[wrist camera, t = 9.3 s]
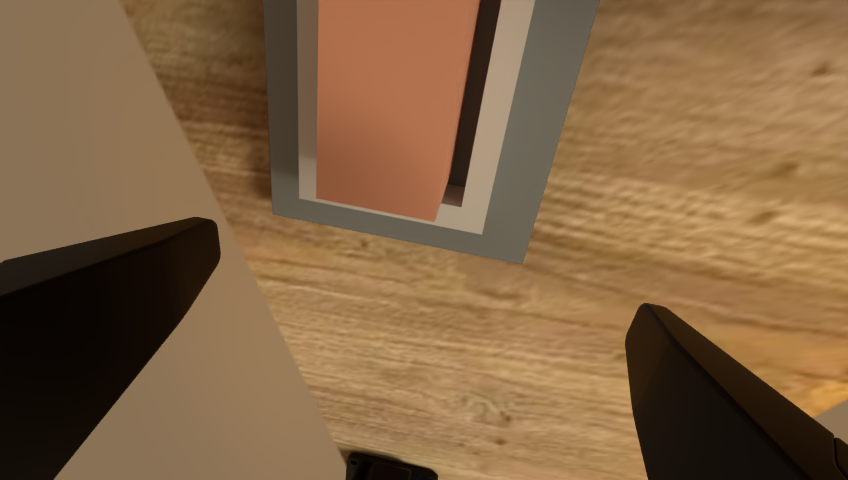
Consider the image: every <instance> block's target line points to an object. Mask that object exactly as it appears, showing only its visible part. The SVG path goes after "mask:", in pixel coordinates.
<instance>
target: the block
mask: <svg viewBox="0 0 848 480" xmlns="http://www.w3.org/2000/svg"><path fill="white" fill-rule="evenodd" d="M481 3H482V0H319V10H318V88H317V166H316V199H321V200H326V201H331V202H336V203H341V204H346V205H351V206H356V207H361V208H366V209H371V210H376V211H381V212H386V213H391V214H396V215H401V216H406V217H411V218H416V219H421V220H426V221H431V222H435V220H436V217H437V213H438V210H439V207H440V204H441V201H442V198H443V195H444V192H445V189H446V186H447V183H448V180H449V177H450V173H451V170H452V166H453V161H454V155H455V149H456V144H457V138H458V132H459V127H460V121H461V115H462V110H463V104H464V99H465V93H466V87H467V82H468V76H469V70H470V65H471V59H472V53H473V48H474V42H475V36H476V31H477V25H478V20H479V14H480V8H481Z"/></svg>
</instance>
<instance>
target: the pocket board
mask: <svg viewBox="0 0 848 480" xmlns="http://www.w3.org/2000/svg"><path fill="white" fill-rule="evenodd" d="M599 1H600V0H482V3H481V8H480V14H479V20H478V25H477V31H476V36H475V42H474V48H473V53H472V59H471V65H470V70H469V76H468V82H467V87H466V93H465V99H464V104H463V110H462V115H461V121H460V127H459V132H458V138H457V144H456V149H455V155H454V161H453V166H452V170H451V173H450V177H449V180H448V183H447V186H446V189H445V192H444V195H443V198H442V201H441V204H440V207H439V210H438V213H437V217H436V220H435V222H431V221H426V220H421V219H416V218H411V217H406V216H401V215H396V214H391V213H386V212H381V211H376V210H371V209H366V208H361V207H356V206H351V205H346V204H341V203H336V202H331V201H326V200H321V199H316V166H317V88H318V10H319V0H263V16H264V38H265V59H266V81H267V102H268V123H269V145H270V166H271V188H272V209H273V214H274V215H278V216H283V217H288V218H293V219H298V220H303V221H308V222H313V223H318V224H323V225H328V226H333V227H338V228H343V229H348V230H353V231H358V232H363V233H368V234H373V235H378V236H383V237H388V238H393V239H398V240H403V241H408V242H413V243H418V244H423V245H428V246H433V247H438V248H442V249H447V250H452V251H457V252H462V253H467V254H472V255H477V256H482V257H487V258H492V259H497V260H502V261H507V262H512V263H517V264H522V265H523V261H524V258H525V254H526V251H527V247H528V244H529V241H530V237H531V234H532V230H533V227H534V224H535V220H536V217H537V213H538V210H539V206H540V203H541V200H542V196H543V193H544V189H545V186H546V182H547V179H548V176H549V172H550V169H551V165H552V162H553V159H554V155H555V152H556V148H557V145H558V141H559V138H560V135H561V131H562V128H563V124H564V121H565V117H566V114H567V111H568V107H569V104H570V100H571V97H572V94H573V90H574V87H575V83H576V80H577V76H578V73H579V70H580V66H581V63H582V59H583V56H584V53H585V49H586V46H587V42H588V39H589V35H590V32H591V29H592V25H593V22H594V18H595V15H596V11H597V8H598V5H599Z"/></svg>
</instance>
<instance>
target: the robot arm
mask: <svg viewBox="0 0 848 480" xmlns="http://www.w3.org/2000/svg"><path fill="white" fill-rule="evenodd" d="M219 244H220V243H219V236H218V228H217V224H216V223H215V222H214V221H213V220H210V219H206V218H200V217H192V218H188V219H184V220H179V221H174V222H170V223H166V224H162V225H157V226H153V227H149V228H144V229H140V230H135V231H131V232H127V233H122V234H118V235H114V236H109V237H105V238H100V239H96V240H92V241H87V242H83V243H79V244H74V245H70V246H66V247H61V248H56V249H52V250H48V251H43V252H39V253H35V254H30V255H26V256H22V257H17V258H13V259H8V260H5V261H3V262H2V263H0V480H54V478H55V477H56V476H57V475H58V474H59V472H60V471H61V469H63V467H64V466H65V465H66V463H67V462H68V461H69V460H70V459H71V457H72V456H73V455H74V453H75V452H76V451H77V450H78V449H79V447H80V446H81V445H82V444H83V442H84V441H85V440H86V439H87V437H88V436H89V435H90V434H91V432H92V431H93V430H94V429H95V427H96V426H97V425H98V424H99V422H100V421H101V420H102V419H103V418H104V416H105V415H106V414H107V412H108V411H109V410H110V409H111V408H112V406H113V405H114V404H115V403H116V401H117V400H118V399H119V398H120V396H121V395H122V394H123V393H124V391H125V390H126V389H127V388H128V386H129V385H130V384H131V382H132V381H133V380H134V379H135V378H136V376H137V375H138V374H139V373H140V371H141V370H142V369H143V368H144V367H145V365H146V364H147V363H148V361H149V360H150V359H151V358H152V356H153V355H154V354H155V353H156V352H157V350H158V349H159V348H160V347H161V345H162V344H163V343H164V342H165V340H166V339H167V338H168V337H169V335H170V334H171V333H172V331H173V330H174V329H175V328H176V327H177V325H178V324H179V323H180V321H181V320H182V319H183V317H184V316H185V315H186V313H187V312H188V310H189V309H190V307H191V305H192V304H193V303H194V301H195V299H196V298H197V296H198V295H199V293H200V292H201V290H202V288H203V287H204V285H205V284H206V282H207V280H208V279H209V277H210V276H211V274H212V273H213V271H214V270H215V268H216V267H217V265H218V263H219V260H220V254H221V252H220V245H219ZM625 349H626V358H627V367H628V376H629V386H630V395H631V403H632V411H633V416H634V421H635V426H636V430H637V434H638V438H639V443H640V447H641V451H642V456H643V460H644V464H645V468H646V473H647V477H648V480H848V444H846V443H845V442H844V441H842V440H841V439H840V438H834V435H833V433H831V432H830V431H829V430H828V429H826V428H825V427H824V426H822V425H821V424H820V423H818V422H817V421H816V420H814V419H813V418H812V417H810V416H809V415H808V414H806V413H805V412H804V411H802V410H801V409H800V408H798V407H797V406H796V405H794V404H793V403H792V402H790V401H789V400H788V399H786V398H785V397H784V396H782V395H781V394H780V393H779V392H777V391H776V390H775V389H773V388H772V387H771V386H769V385H768V384H767V383H765V382H764V381H763V380H761V379H760V378H759V377H757V376H756V375H755V374H753V373H752V372H751V371H749V370H748V369H747V368H745V367H744V366H743V365H741V364H740V363H739V362H737V361H736V360H735V359H733V358H732V357H731V356H730V355H728V354H727V353H726V352H724V351H723V350H722V349H720V348H719V347H718V346H716V345H715V344H714V343H712V342H711V341H710V340H708V339H707V338H706V337H704V336H703V335H702V334H700V333H699V332H698V331H696V330H695V329H694V328H692V327H691V326H690V325H688V324H687V323H686V322H685V321H683V320H682V319H681V318H679V317H678V316H677V315H675V314H674V313H673V312H671V311H670V310H669V309H667V308H666V307H664V306H660V305H654V304H649V303H644V304H642V305H641V306H640V307H639V308H638V310H637V312H636V315H635V317H634V319H633V321H632V323H631V326H630V328H629V330H628V332H627V335H626V340H625ZM346 480H438V475H437V474H436V473H434V472H431V471H427V470H423V469H419V468H415V467H411V466H407V465H402V464H398V463H394V462H390V461H386V460H382V459H378V458H374V457H369V456H365V455H361V454H357V453H351V454H349V457H348V460H347V469H346Z"/></svg>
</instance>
